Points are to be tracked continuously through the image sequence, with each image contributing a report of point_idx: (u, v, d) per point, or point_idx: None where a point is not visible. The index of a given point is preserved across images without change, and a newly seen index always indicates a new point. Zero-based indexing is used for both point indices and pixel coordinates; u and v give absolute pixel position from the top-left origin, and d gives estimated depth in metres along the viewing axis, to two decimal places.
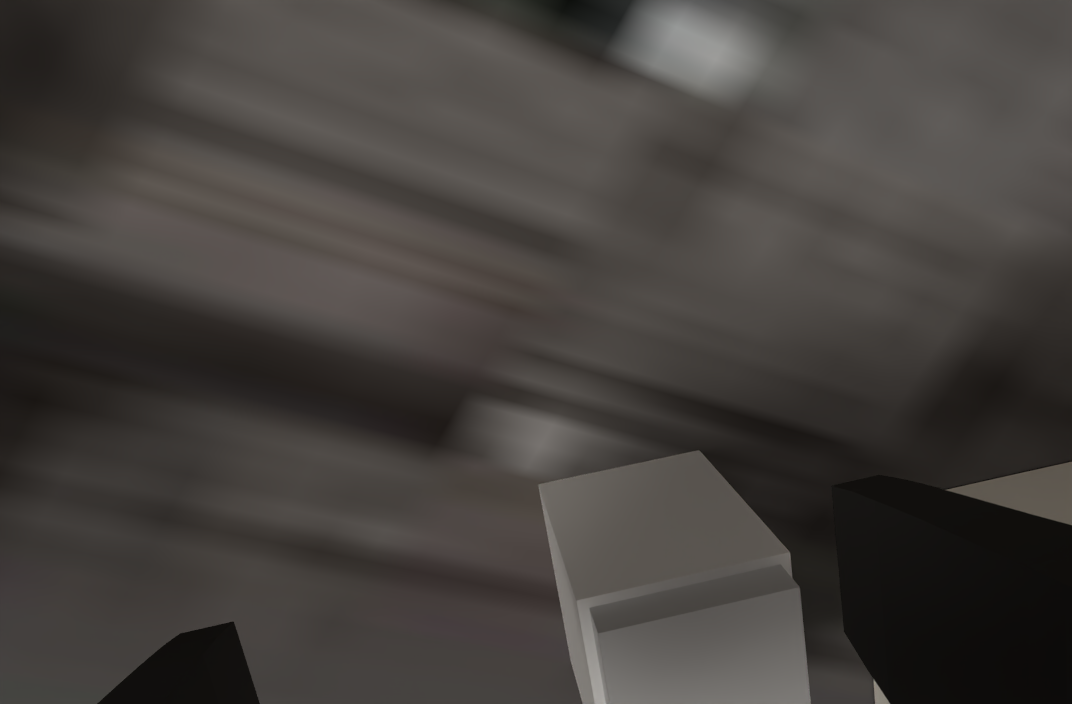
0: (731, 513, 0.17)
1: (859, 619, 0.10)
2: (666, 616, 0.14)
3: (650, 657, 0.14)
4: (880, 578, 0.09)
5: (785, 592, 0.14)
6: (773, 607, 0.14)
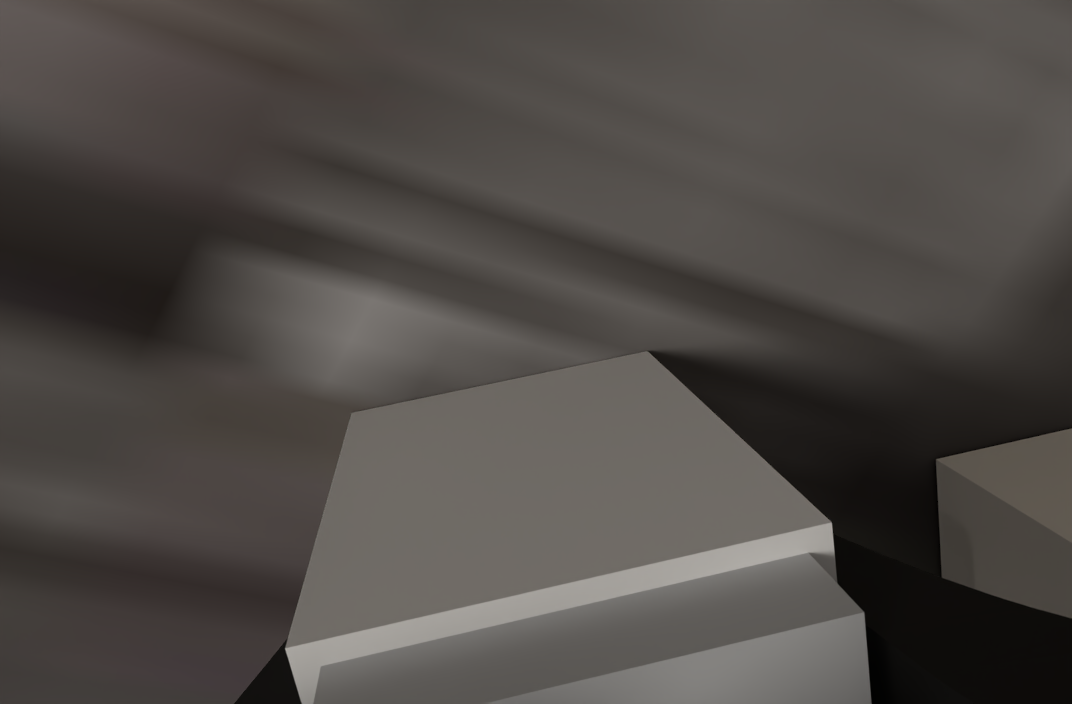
0: (696, 446, 0.08)
1: None
2: (500, 696, 0.05)
3: None
4: None
5: (826, 627, 0.05)
6: (791, 667, 0.05)
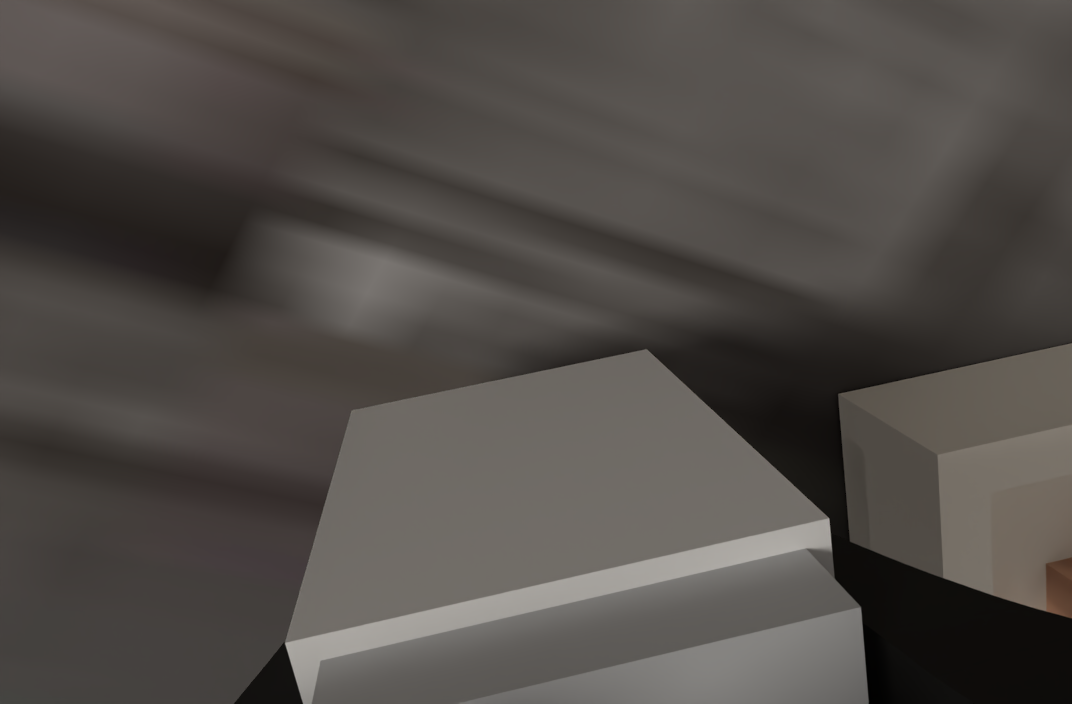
0: (694, 443, 0.08)
1: None
2: (497, 690, 0.05)
3: None
4: None
5: (823, 622, 0.05)
6: (788, 662, 0.05)
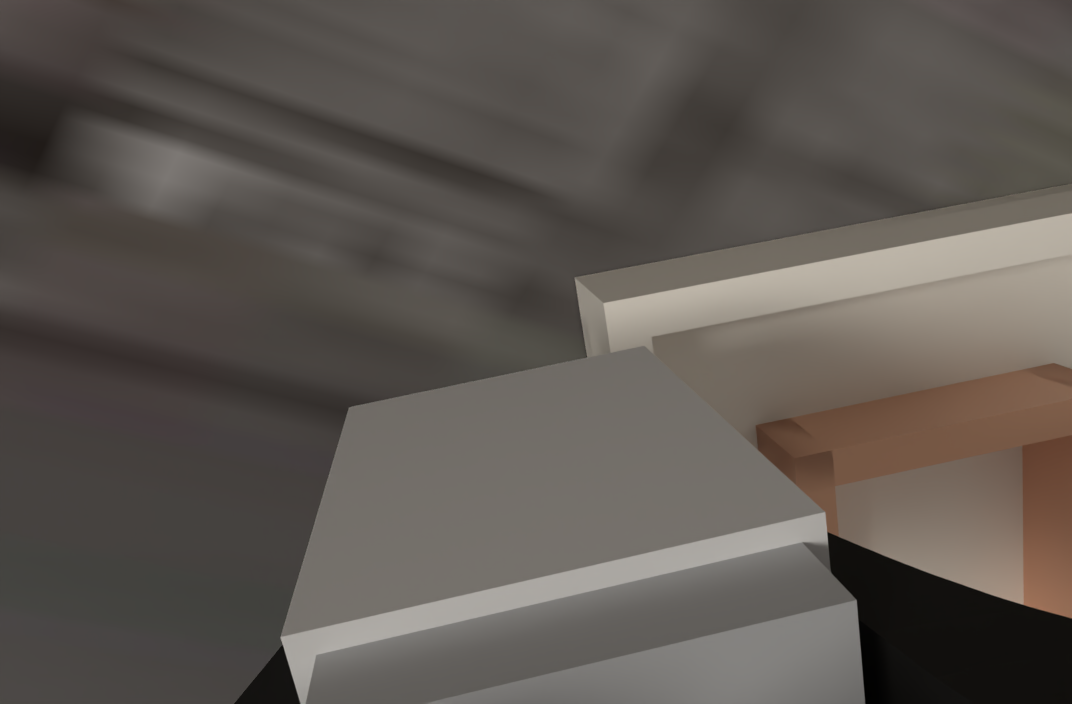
0: (691, 438, 0.08)
1: None
2: (494, 683, 0.05)
3: None
4: None
5: (818, 614, 0.05)
6: (783, 655, 0.05)
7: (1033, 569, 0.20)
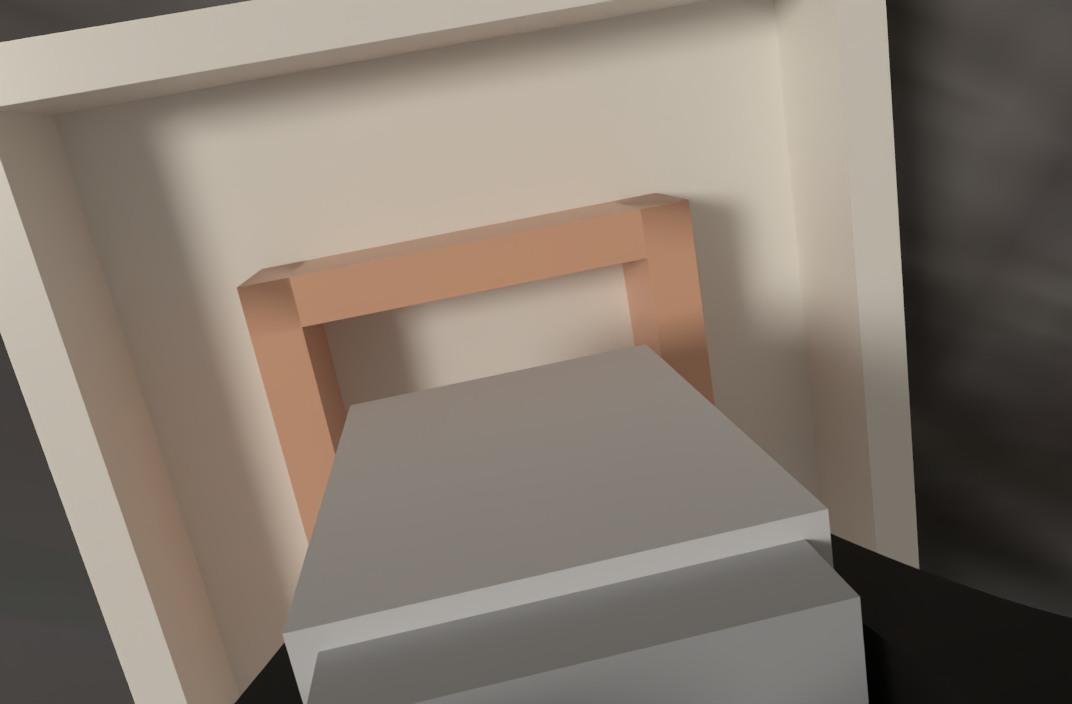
0: (693, 435, 0.08)
1: None
2: (495, 679, 0.05)
3: None
4: None
5: (821, 611, 0.05)
6: (789, 651, 0.05)
7: None
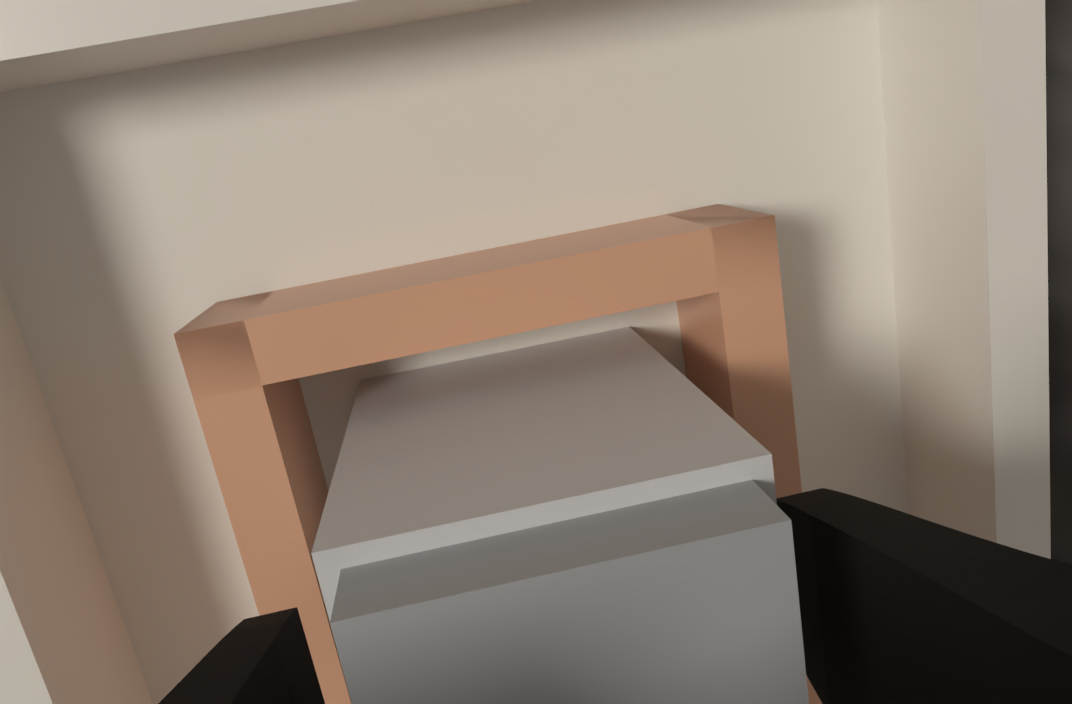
0: (665, 400, 0.09)
1: (802, 633, 0.10)
2: (489, 584, 0.06)
3: (457, 677, 0.06)
4: (818, 593, 0.09)
5: (759, 531, 0.06)
6: (731, 565, 0.06)
7: None
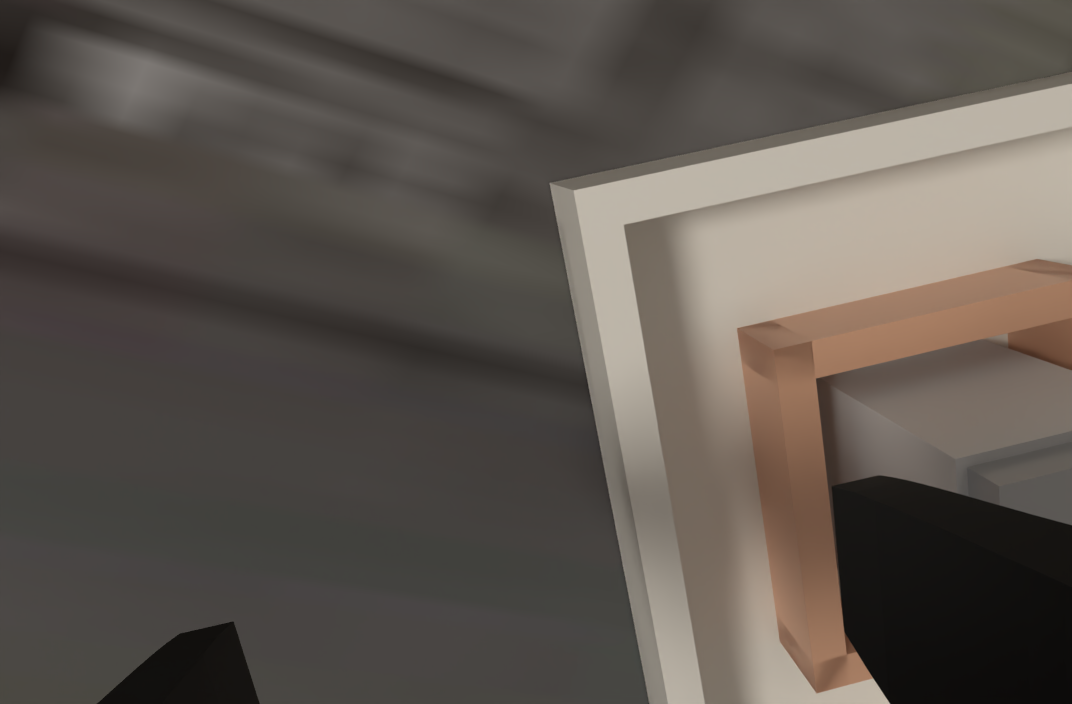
0: (1070, 381, 0.16)
1: (859, 619, 0.10)
2: (1067, 467, 0.13)
3: (1048, 513, 0.13)
4: (880, 578, 0.09)
5: None
6: None
7: None
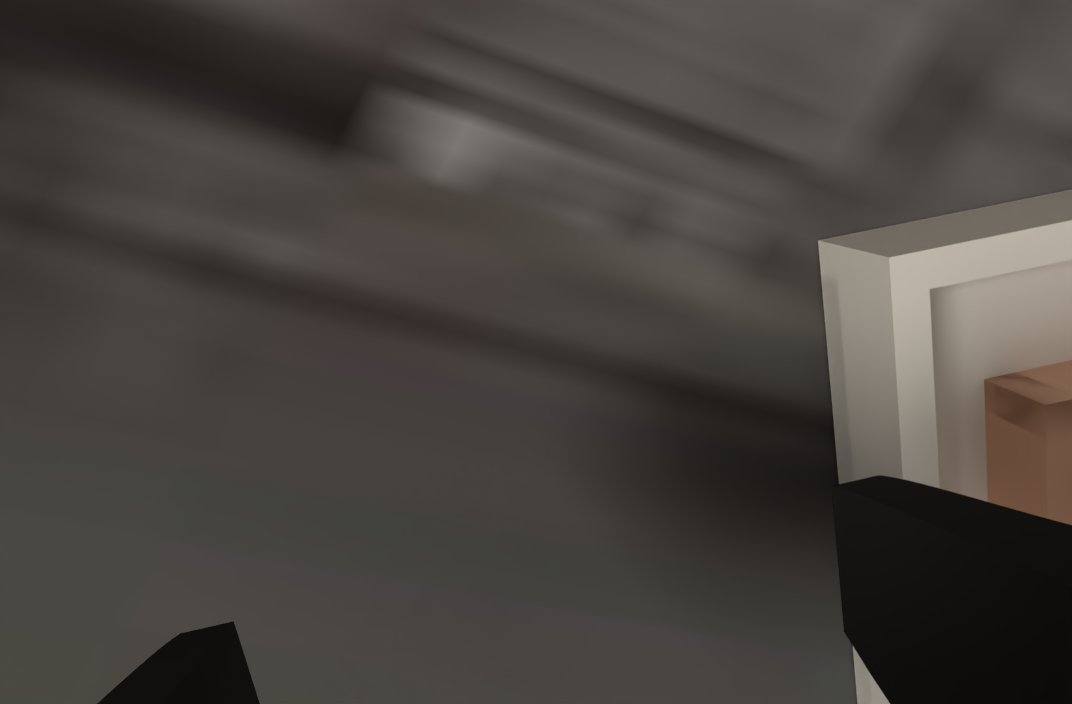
0: None
1: (859, 619, 0.10)
2: None
3: None
4: (880, 578, 0.09)
5: None
6: None
7: None
